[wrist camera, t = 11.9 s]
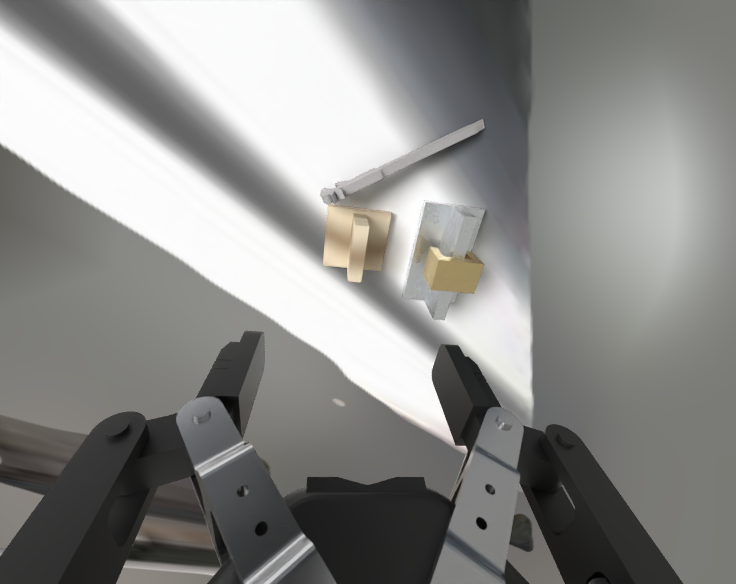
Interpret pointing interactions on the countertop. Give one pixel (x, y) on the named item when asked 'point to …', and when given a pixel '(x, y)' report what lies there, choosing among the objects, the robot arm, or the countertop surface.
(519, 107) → the countertop surface
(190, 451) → the robot arm
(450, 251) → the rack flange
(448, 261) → the u clip
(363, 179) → the caliper
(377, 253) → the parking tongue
